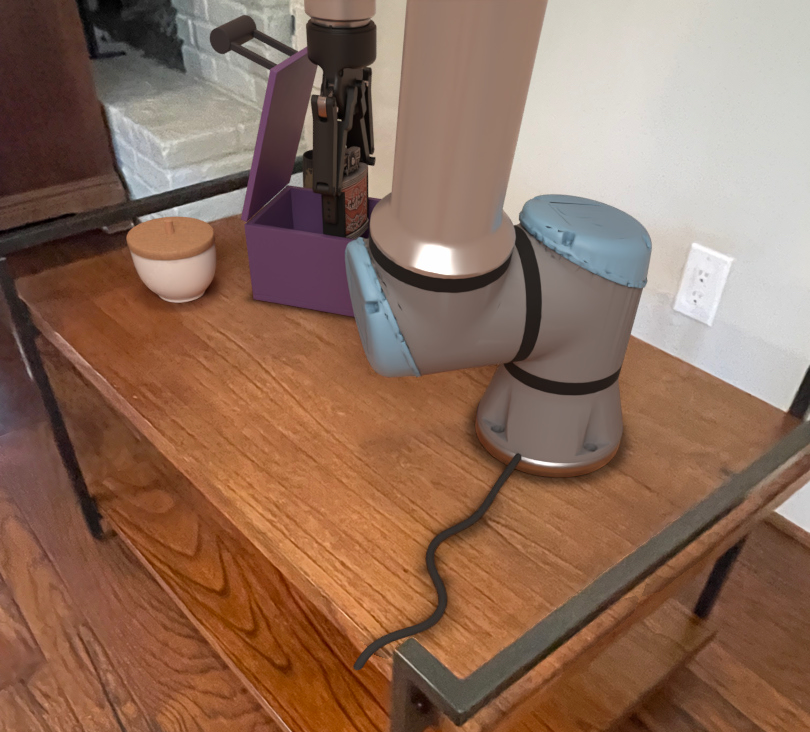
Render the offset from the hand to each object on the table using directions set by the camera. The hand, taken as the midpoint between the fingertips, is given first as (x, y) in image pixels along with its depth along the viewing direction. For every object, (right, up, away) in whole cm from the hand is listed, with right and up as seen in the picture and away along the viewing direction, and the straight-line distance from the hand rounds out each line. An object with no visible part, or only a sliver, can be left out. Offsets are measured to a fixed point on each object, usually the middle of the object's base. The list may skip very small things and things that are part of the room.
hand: (346, 232), depth 96 cm
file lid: (-7, +9, -6) cm, 13 cm away
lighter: (0, 0, 0) cm, 0 cm away
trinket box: (-22, -6, +4) cm, 23 cm away
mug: (-4, +6, +17) cm, 19 cm away
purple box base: (-3, -5, +6) cm, 8 cm away
